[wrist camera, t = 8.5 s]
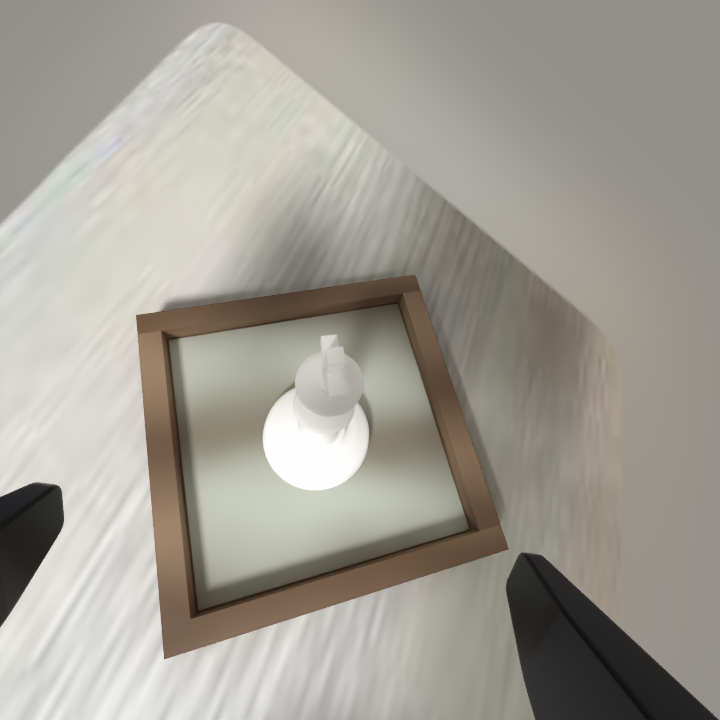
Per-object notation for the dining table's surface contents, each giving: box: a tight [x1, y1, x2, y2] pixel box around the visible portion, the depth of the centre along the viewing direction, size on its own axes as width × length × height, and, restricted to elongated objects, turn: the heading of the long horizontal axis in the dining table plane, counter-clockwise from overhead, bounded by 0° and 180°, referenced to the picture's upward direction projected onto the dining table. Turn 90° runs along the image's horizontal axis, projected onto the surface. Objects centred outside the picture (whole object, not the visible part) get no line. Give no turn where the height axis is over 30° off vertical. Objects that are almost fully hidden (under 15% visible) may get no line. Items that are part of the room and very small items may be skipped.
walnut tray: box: [136, 275, 508, 659], centre depth 19 cm, size 14×14×2 cm
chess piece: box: [263, 334, 369, 490], centre depth 15 cm, size 5×5×10 cm
